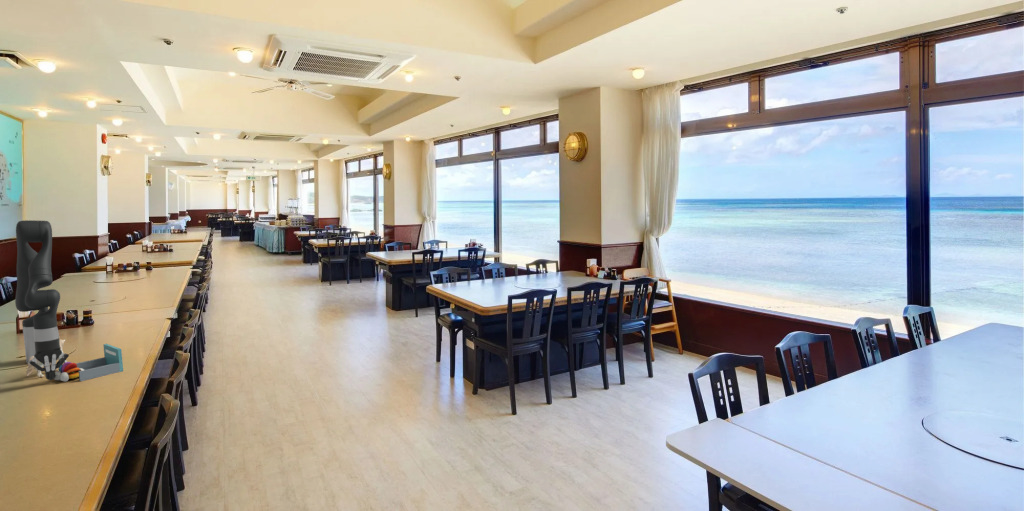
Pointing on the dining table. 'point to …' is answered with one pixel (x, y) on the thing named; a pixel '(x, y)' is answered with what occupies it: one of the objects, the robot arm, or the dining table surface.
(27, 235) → the robot arm
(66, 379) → the white-wheeled rainbow disc toy
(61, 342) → the unicorn figurine
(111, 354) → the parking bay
